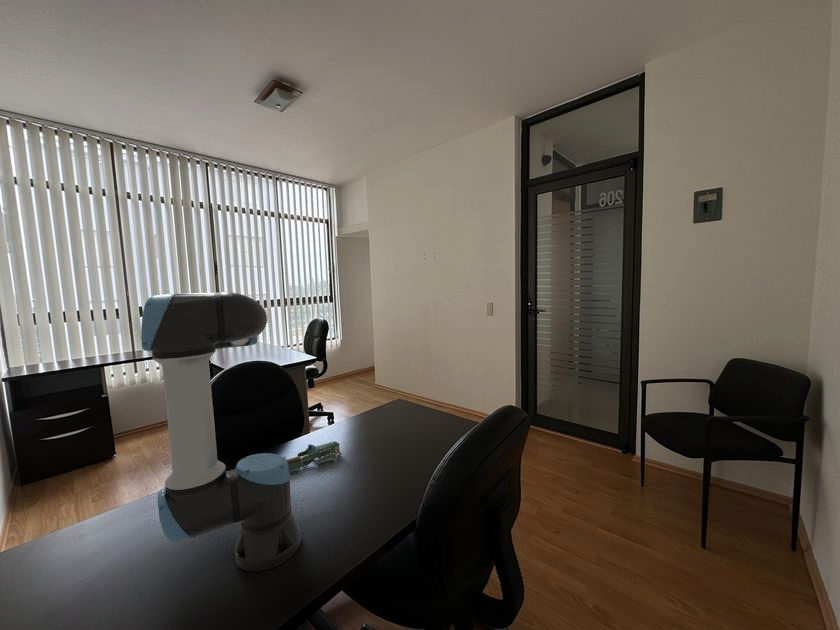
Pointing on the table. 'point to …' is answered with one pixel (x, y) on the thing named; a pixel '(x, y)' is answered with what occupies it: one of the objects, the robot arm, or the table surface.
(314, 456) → the hoverbike
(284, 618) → the table surface
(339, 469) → the table surface
